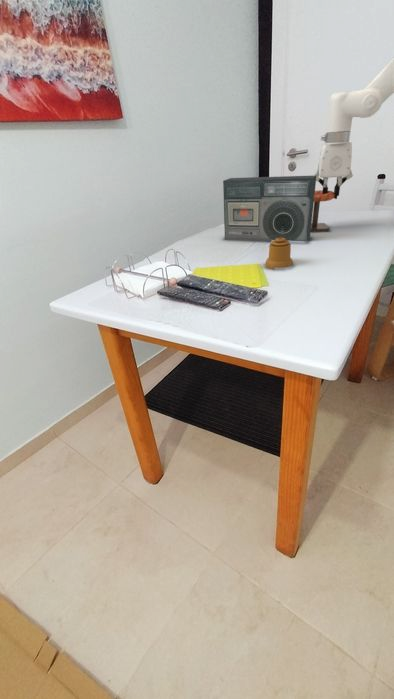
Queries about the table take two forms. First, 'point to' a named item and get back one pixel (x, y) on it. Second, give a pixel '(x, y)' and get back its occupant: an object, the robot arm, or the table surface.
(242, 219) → the cassette player
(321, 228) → the wooden bookend
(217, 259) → the table surface
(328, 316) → the table surface
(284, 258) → the ornamental finial
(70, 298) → the table surface
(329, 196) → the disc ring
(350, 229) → the table surface
